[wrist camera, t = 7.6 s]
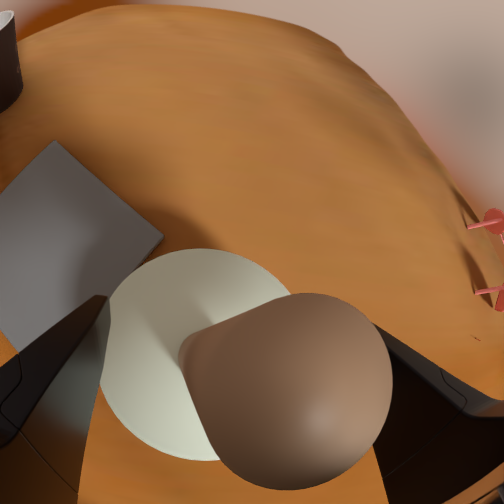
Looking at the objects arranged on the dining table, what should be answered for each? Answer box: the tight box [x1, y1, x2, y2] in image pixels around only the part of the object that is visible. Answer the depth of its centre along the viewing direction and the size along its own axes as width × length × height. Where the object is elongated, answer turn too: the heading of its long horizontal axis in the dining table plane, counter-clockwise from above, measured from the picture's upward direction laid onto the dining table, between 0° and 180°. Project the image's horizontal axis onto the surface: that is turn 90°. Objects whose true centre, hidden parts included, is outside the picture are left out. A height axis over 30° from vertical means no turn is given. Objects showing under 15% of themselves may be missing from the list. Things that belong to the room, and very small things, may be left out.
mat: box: [0, 140, 164, 352], centre depth 18 cm, size 14×14×1 cm
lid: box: [100, 248, 393, 490], centre depth 10 cm, size 12×12×13 cm
